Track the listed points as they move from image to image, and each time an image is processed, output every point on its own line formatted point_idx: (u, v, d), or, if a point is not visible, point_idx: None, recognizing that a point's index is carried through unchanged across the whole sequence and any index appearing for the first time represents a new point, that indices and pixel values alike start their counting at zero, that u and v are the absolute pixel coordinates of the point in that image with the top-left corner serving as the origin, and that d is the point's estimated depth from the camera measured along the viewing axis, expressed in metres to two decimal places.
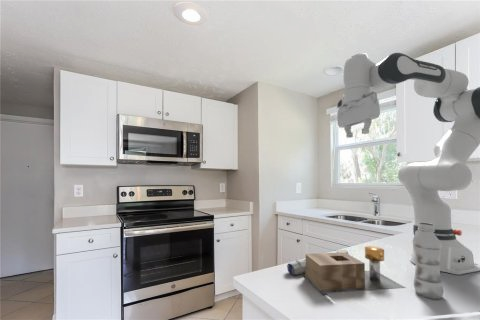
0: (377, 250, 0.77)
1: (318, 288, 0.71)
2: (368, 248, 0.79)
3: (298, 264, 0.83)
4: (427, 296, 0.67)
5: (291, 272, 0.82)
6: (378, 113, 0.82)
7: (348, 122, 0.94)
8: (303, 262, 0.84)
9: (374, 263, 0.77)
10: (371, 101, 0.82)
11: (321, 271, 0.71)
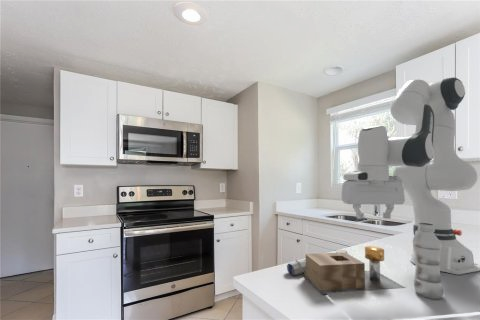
0: (377, 250, 0.77)
1: (318, 288, 0.71)
2: (368, 248, 0.79)
3: (298, 264, 0.83)
4: (427, 296, 0.67)
5: (291, 272, 0.82)
6: None
7: (369, 202, 0.78)
8: (303, 262, 0.84)
9: (374, 263, 0.77)
10: None
11: (321, 271, 0.71)
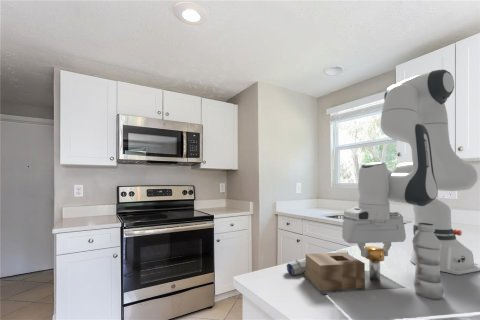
0: (377, 250, 0.77)
1: (318, 288, 0.71)
2: (368, 248, 0.79)
3: (298, 264, 0.83)
4: (427, 296, 0.67)
5: (290, 272, 0.82)
6: None
7: (370, 241, 0.77)
8: (303, 262, 0.84)
9: (374, 263, 0.77)
10: None
11: (321, 271, 0.71)
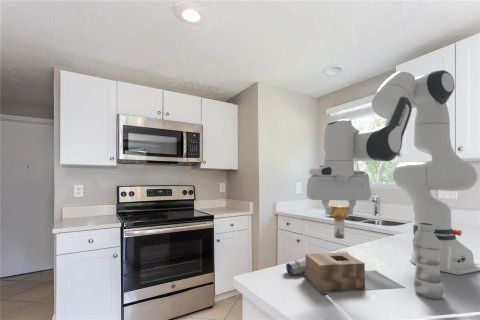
0: (341, 207, 0.76)
1: (318, 288, 0.71)
2: (333, 206, 0.78)
3: (297, 264, 0.83)
4: (427, 296, 0.67)
5: (290, 272, 0.82)
6: None
7: (334, 197, 0.76)
8: (302, 262, 0.84)
9: (338, 221, 0.76)
10: None
11: (321, 271, 0.71)
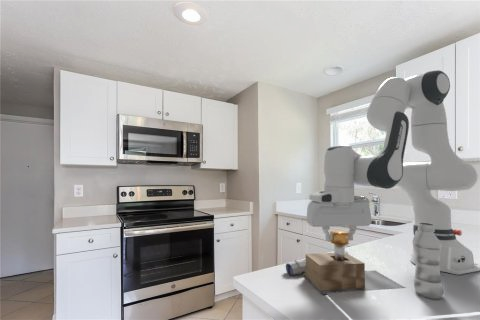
0: (341, 234, 0.76)
1: (318, 288, 0.71)
2: (333, 232, 0.78)
3: (296, 264, 0.83)
4: (427, 296, 0.67)
5: (289, 272, 0.82)
6: None
7: (334, 224, 0.75)
8: (302, 262, 0.84)
9: (338, 247, 0.76)
10: None
11: (321, 271, 0.71)
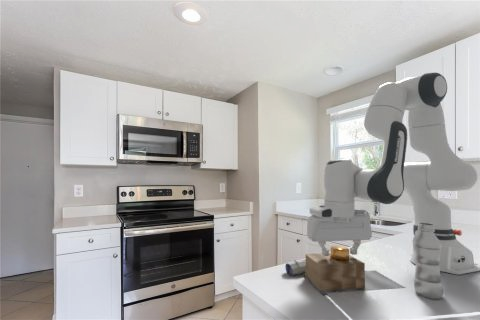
0: (342, 250, 0.75)
1: (318, 288, 0.71)
2: (333, 248, 0.77)
3: (296, 264, 0.83)
4: (427, 296, 0.67)
5: (289, 272, 0.82)
6: None
7: (335, 239, 0.75)
8: (301, 262, 0.83)
9: None
10: None
11: (321, 271, 0.71)
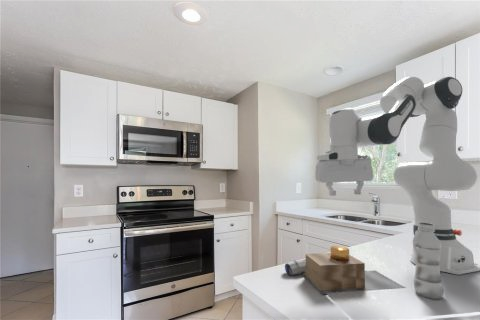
0: (342, 250, 0.75)
1: (318, 288, 0.71)
2: (333, 248, 0.77)
3: (296, 264, 0.83)
4: (427, 296, 0.67)
5: (288, 272, 0.82)
6: None
7: (340, 180, 0.84)
8: (301, 262, 0.83)
9: None
10: None
11: (321, 271, 0.71)
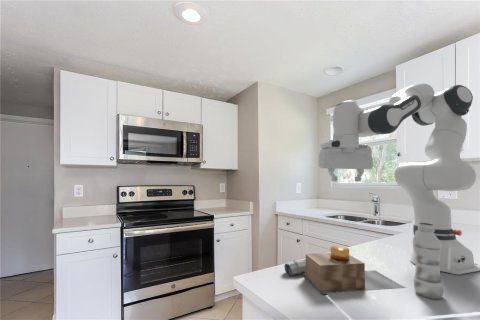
0: (342, 250, 0.75)
1: (318, 288, 0.71)
2: (333, 248, 0.77)
3: (295, 264, 0.83)
4: (427, 296, 0.67)
5: (288, 272, 0.82)
6: None
7: (342, 166, 0.90)
8: (300, 262, 0.83)
9: None
10: None
11: (321, 271, 0.71)
